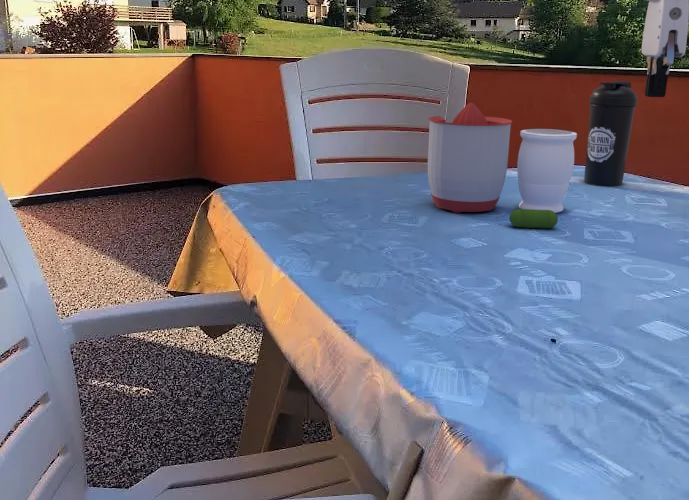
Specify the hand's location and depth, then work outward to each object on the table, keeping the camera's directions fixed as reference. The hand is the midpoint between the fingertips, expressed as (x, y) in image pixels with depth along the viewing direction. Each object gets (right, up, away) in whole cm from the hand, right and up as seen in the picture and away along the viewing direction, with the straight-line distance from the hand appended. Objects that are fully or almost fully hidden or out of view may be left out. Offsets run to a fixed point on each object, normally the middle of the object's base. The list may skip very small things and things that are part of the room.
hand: (654, 96), depth 131 cm
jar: (-19, -21, +6) cm, 29 cm away
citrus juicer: (-34, -20, +8) cm, 41 cm away
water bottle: (+3, -13, +34) cm, 36 cm away
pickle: (-25, -25, -8) cm, 36 cm away
